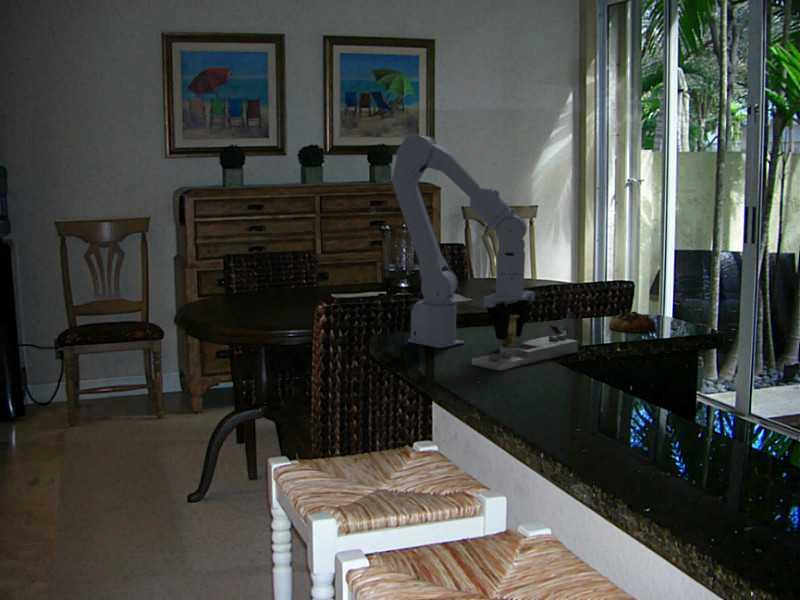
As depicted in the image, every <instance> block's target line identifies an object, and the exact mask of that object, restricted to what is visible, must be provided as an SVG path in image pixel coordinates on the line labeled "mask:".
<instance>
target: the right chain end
mask: <svg viewBox="0 0 800 600" xmlns="http://www.w3.org/2000/svg"><path fill="white" fill-rule="evenodd" d="M578 346H579V340H575V339H573V340H571V339H566V333H565V334H564V333H557V334H555V335H549V336H544V337H539V338H534V339H529V340H525V341H519V342H516V343H514V344H509V345H505V346H501V345H500V346H499V352H500V353H501V352H510V353H511V355H515V356H520V357H525V358H530V357H535V356H539V355H543V354H547V353H550V359H549V360H551V359H555V358H557V357H559V358H560V357H563V356H566V355H567V356H568V355H570V354H571V355H572V354H575V353H578V348H579V347H578Z"/></svg>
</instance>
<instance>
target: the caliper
mask: <svg viewBox="0 0 800 600" xmlns="http://www.w3.org/2000/svg"><path fill="white" fill-rule="evenodd" d="M573 316H574V315H573V313H572V312H571V313H570V312H569V313H566V318H561V320H550V322H549V326H550V327H552V328H561V331H565V335H566V339H571V340H574V329H575V328H574V327H575V325H574V318H573Z"/></svg>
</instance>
